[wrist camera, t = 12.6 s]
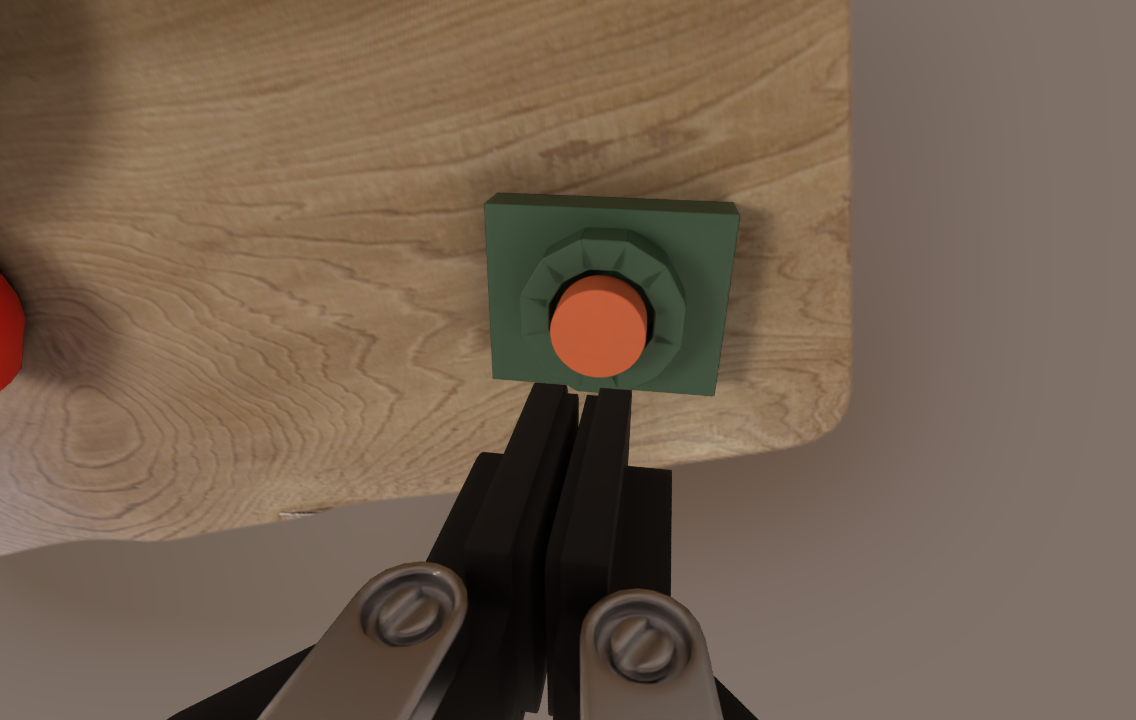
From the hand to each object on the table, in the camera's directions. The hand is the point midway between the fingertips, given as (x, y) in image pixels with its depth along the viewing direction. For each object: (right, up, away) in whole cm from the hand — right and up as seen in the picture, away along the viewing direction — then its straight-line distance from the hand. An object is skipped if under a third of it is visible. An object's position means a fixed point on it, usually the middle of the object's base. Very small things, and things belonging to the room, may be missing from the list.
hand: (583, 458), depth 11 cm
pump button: (+1, +3, +13) cm, 14 cm away
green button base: (+2, +5, +17) cm, 17 cm away
